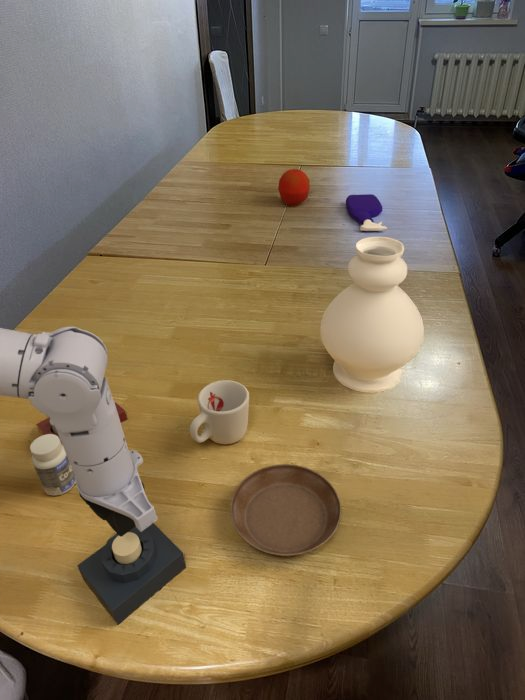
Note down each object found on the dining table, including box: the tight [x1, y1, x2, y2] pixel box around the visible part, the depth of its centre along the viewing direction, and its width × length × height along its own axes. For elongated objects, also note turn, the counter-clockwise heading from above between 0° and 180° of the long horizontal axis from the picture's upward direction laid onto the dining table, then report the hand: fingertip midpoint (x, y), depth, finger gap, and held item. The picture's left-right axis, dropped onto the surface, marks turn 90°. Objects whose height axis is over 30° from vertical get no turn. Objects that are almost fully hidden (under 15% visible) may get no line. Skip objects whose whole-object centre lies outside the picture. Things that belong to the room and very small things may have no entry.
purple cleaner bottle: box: [345, 193, 388, 232], centre depth 157 cm, size 3×11×24 cm
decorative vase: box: [319, 236, 425, 394], centre depth 89 cm, size 18×18×25 cm
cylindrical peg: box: [112, 532, 142, 564], centre depth 61 cm, size 3×3×2 cm
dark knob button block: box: [76, 522, 187, 626], centre depth 63 cm, size 10×8×5 cm
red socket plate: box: [35, 401, 128, 444], centre depth 85 cm, size 13×9×4 cm
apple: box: [277, 168, 311, 207], centre depth 166 cm, size 10×10×12 cm
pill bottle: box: [29, 434, 76, 497], centre depth 74 cm, size 5×5×8 cm
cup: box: [189, 379, 250, 445], centre depth 81 cm, size 11×8×8 cm
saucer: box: [229, 463, 342, 557], centre depth 70 cm, size 15×15×3 cm
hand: (125, 528), depth 59 cm, fingers closed
